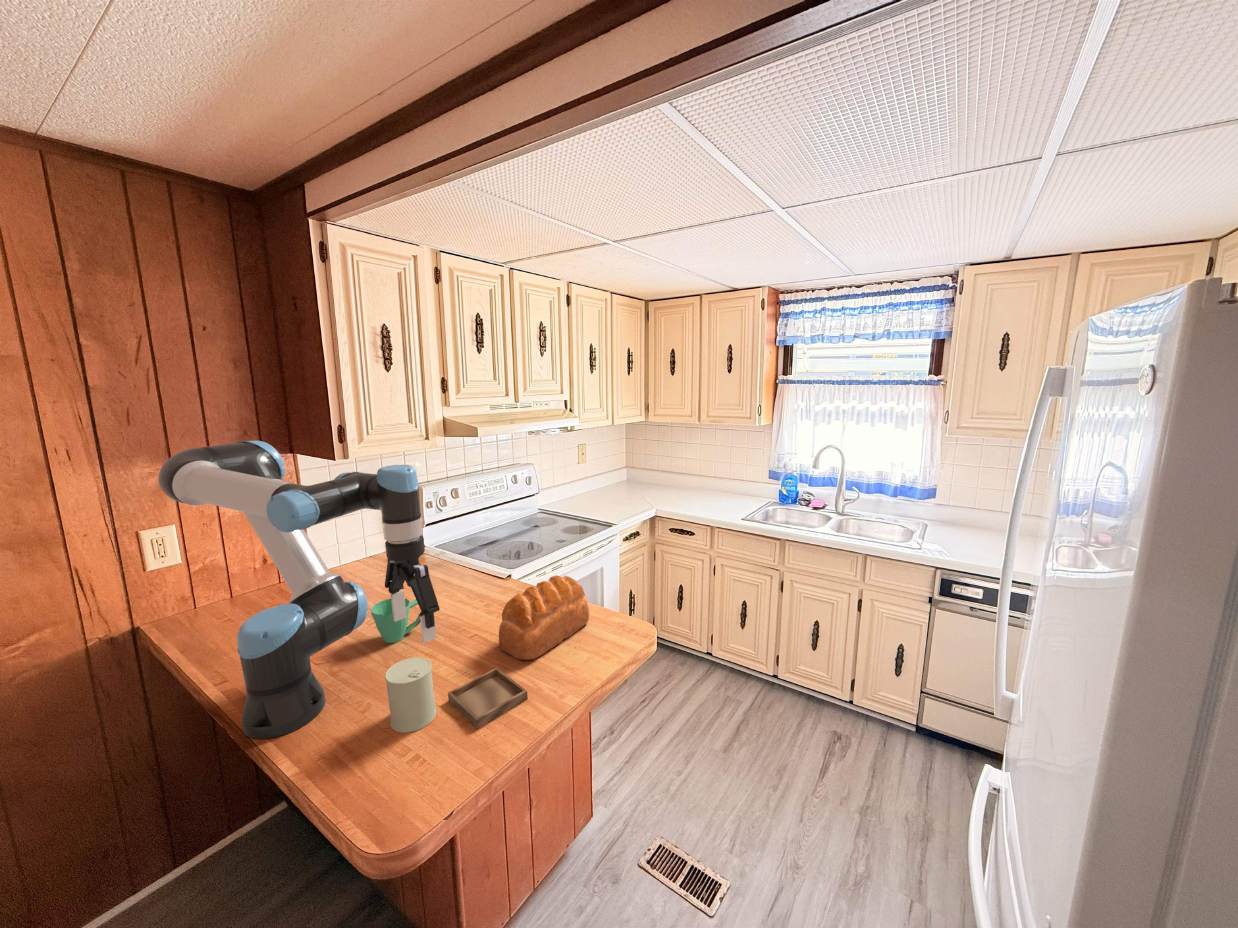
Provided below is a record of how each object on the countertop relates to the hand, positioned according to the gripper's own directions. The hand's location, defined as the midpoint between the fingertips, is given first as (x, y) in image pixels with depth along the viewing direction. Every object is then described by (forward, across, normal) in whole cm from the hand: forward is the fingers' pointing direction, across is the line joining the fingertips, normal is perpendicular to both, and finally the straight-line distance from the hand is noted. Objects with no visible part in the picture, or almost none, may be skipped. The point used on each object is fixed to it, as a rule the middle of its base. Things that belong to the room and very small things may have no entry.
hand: (414, 629), depth 106 cm
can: (+18, -4, +4) cm, 19 cm away
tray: (+18, -12, -10) cm, 23 cm away
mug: (+18, +30, -10) cm, 37 cm away
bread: (+18, -1, -36) cm, 41 cm away
